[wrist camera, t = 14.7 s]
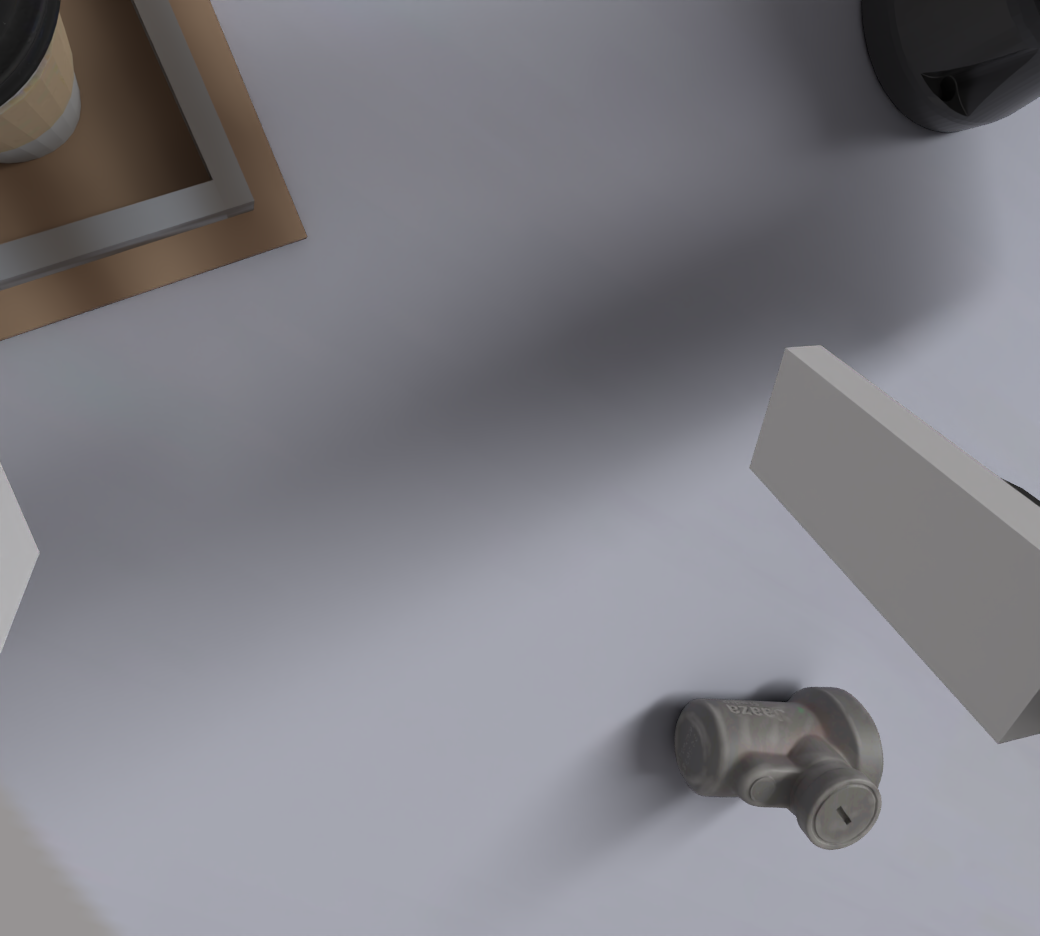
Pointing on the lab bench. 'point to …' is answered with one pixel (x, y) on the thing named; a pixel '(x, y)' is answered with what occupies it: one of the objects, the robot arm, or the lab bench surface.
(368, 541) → the lab bench surface
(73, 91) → the coffee cup
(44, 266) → the square rimmed tray
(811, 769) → the pipe fitting
